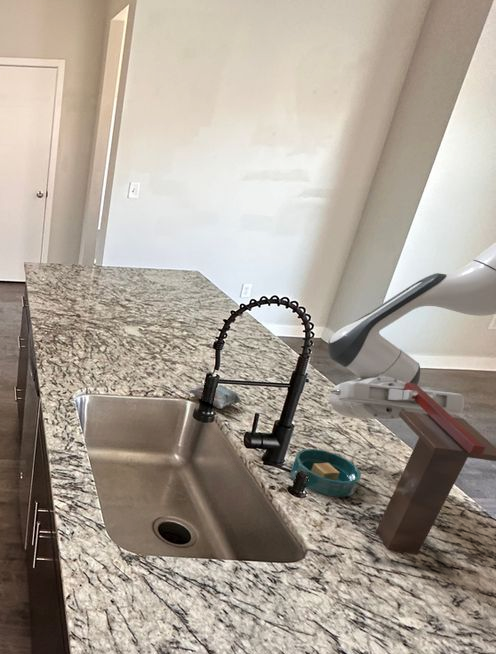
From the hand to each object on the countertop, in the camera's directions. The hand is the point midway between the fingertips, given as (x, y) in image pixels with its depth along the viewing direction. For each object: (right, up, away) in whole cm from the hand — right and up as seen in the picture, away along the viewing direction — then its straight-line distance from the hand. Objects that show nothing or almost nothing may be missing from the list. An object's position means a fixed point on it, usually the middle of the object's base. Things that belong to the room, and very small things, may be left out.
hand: (422, 396), depth 99 cm
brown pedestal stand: (-3, -29, +3) cm, 29 cm away
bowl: (-6, -21, +20) cm, 29 cm away
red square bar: (-1, -4, -5) cm, 6 cm away
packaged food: (-17, -5, +52) cm, 55 cm away
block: (-6, -20, +20) cm, 29 cm away
